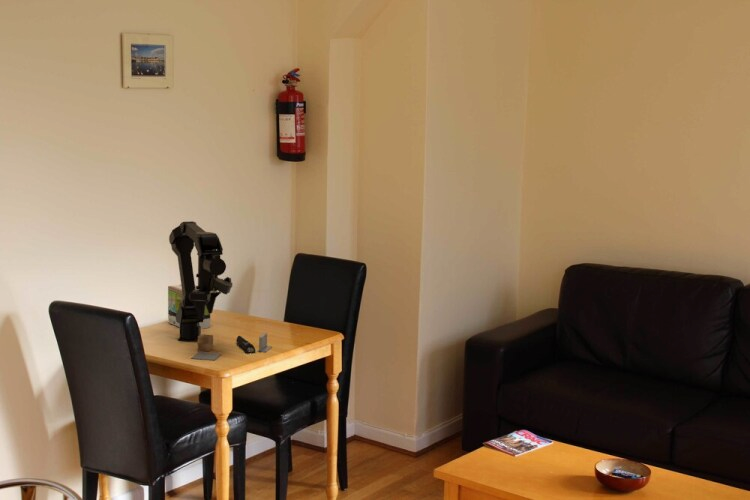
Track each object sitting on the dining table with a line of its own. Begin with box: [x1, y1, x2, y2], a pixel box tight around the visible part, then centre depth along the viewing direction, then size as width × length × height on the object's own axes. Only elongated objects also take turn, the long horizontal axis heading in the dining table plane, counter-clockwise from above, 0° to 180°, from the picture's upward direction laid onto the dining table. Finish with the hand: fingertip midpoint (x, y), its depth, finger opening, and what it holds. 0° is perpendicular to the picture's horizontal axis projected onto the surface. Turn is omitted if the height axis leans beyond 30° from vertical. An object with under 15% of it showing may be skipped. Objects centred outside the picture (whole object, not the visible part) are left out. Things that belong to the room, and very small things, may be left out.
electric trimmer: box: [235, 335, 256, 354], centre depth 320 cm, size 4×16×3 cm, turn 23°
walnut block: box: [197, 333, 214, 353], centre depth 315 cm, size 4×4×5 cm
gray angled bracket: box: [257, 332, 272, 353], centre depth 319 cm, size 3×7×5 cm, turn 172°
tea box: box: [167, 284, 211, 330], centre depth 349 cm, size 15×10×15 cm
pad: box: [190, 351, 223, 361], centre depth 307 cm, size 8×8×1 cm
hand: (206, 316), depth 314 cm, fingers open, 9 cm apart
